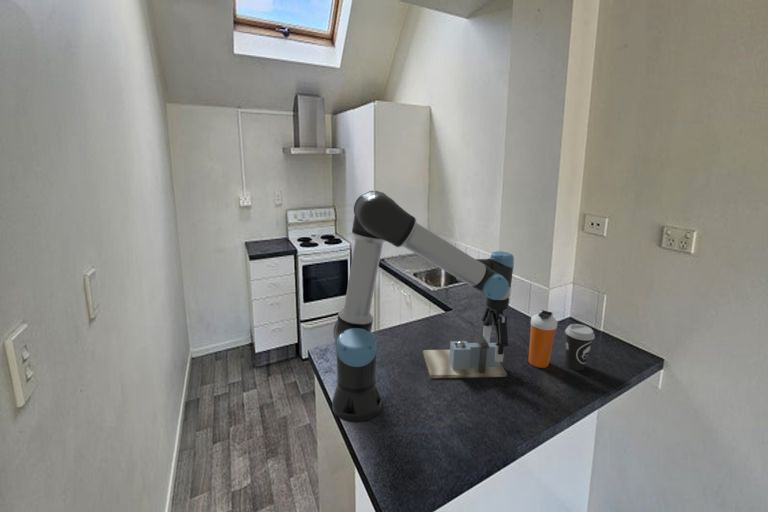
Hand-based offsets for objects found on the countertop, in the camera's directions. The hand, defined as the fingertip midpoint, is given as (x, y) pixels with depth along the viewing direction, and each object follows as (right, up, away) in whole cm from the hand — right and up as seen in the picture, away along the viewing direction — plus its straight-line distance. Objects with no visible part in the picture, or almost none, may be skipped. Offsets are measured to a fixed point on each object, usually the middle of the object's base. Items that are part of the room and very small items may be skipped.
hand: (491, 351), depth 134 cm
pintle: (-12, -6, +1) cm, 13 cm away
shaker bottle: (+19, -6, +5) cm, 21 cm away
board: (-10, -6, +4) cm, 12 cm away
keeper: (-5, -7, 0) cm, 8 cm away
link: (-6, -5, +1) cm, 8 cm away
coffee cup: (+32, -6, +4) cm, 33 cm away
